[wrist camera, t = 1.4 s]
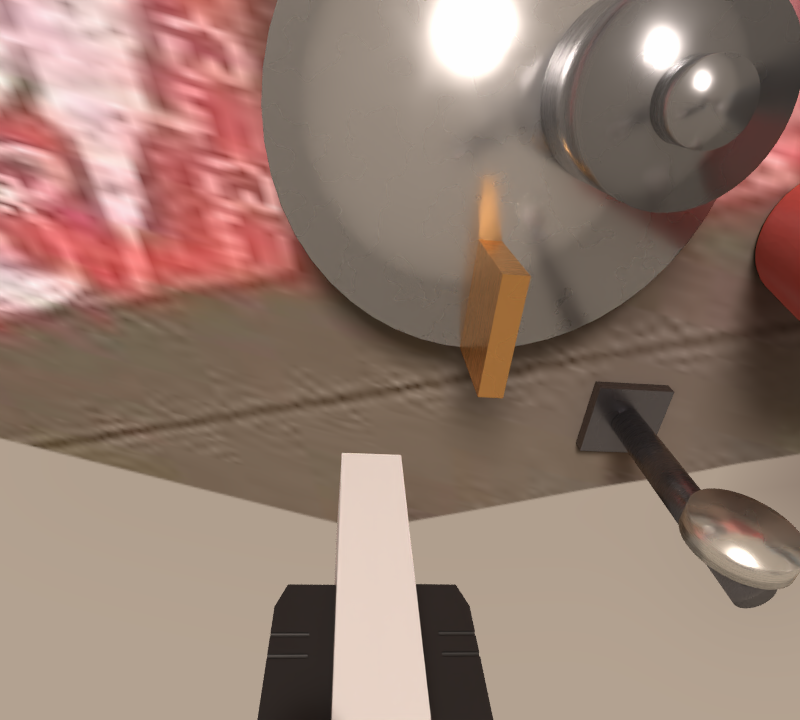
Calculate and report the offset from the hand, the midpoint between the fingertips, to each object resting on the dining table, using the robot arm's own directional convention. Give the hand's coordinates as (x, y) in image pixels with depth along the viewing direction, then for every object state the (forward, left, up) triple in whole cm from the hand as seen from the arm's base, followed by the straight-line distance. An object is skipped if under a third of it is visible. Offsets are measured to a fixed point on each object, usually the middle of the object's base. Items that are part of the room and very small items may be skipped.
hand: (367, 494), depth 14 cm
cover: (-11, -10, -15) cm, 21 cm away
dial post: (-18, +9, -18) cm, 27 cm away
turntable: (-6, -8, -17) cm, 20 cm away
